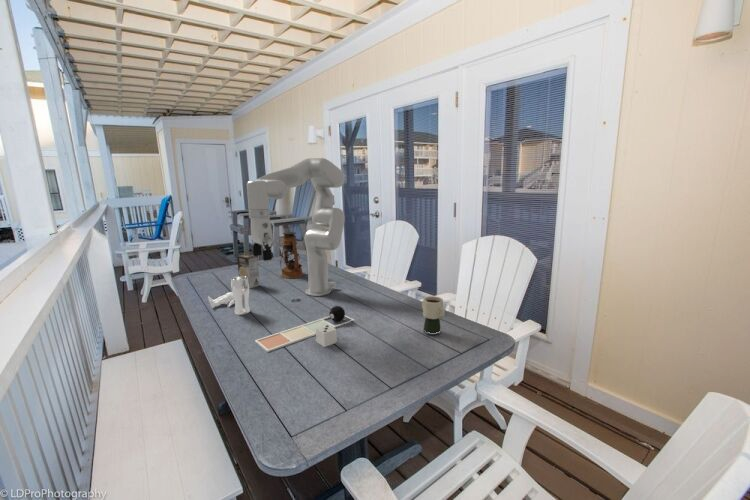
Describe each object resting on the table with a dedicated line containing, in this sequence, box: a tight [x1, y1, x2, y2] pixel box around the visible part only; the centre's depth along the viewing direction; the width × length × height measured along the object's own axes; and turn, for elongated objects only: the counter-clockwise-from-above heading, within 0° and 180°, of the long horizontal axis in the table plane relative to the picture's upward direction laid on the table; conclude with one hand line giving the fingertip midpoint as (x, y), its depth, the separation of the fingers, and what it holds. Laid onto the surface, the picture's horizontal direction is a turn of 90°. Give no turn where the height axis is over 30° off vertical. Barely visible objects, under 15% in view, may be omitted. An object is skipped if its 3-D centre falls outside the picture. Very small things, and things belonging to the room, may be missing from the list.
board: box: [254, 314, 355, 353], centre depth 128 cm, size 37×10×1 cm, turn 132°
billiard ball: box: [328, 305, 346, 323], centre depth 137 cm, size 6×6×6 cm
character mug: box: [421, 295, 446, 333], centre depth 126 cm, size 11×7×13 cm, turn 37°
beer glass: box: [230, 275, 251, 316], centre depth 144 cm, size 7×7×15 cm
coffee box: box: [236, 253, 260, 289], centre depth 179 cm, size 9×6×16 cm
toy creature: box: [207, 291, 235, 309], centre depth 155 cm, size 12×6×12 cm
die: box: [315, 325, 337, 348], centre depth 119 cm, size 5×5×5 cm
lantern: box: [279, 224, 304, 279], centre depth 196 cm, size 17×13×30 cm
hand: (262, 257), depth 134 cm, fingers open, 9 cm apart
